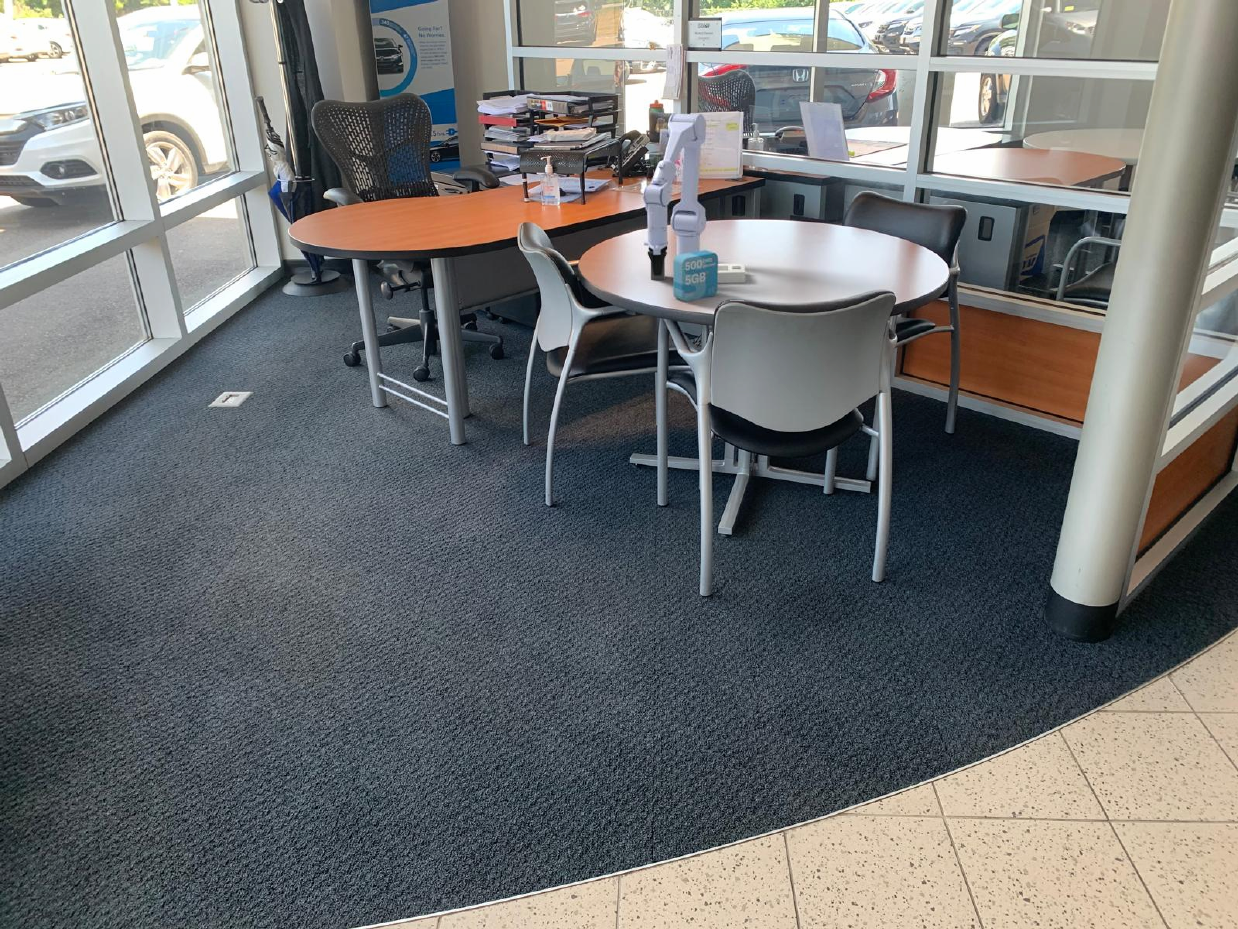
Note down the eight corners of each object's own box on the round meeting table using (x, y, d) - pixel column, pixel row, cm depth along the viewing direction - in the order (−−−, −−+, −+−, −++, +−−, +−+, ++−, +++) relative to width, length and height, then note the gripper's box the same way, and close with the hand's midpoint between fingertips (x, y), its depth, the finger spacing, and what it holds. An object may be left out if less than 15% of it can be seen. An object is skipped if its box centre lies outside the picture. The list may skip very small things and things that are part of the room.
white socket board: (683, 273, 274) (683, 263, 272) (743, 273, 272) (743, 262, 271) (683, 283, 265) (683, 272, 263) (745, 282, 263) (745, 271, 262)
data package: (682, 302, 248) (682, 258, 242) (672, 298, 251) (672, 255, 246) (717, 295, 253) (718, 252, 248) (707, 291, 256) (708, 248, 251)
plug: (651, 276, 273) (651, 257, 270) (664, 275, 272) (664, 257, 270) (650, 279, 269) (650, 261, 266) (664, 279, 269) (664, 261, 266)
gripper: (644, 221, 271) (645, 266, 277) (642, 232, 258) (643, 279, 264) (668, 221, 270) (668, 266, 276) (667, 232, 257) (667, 279, 263)
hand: (657, 273), depth 270 cm, fingers closed on plug, 4 cm apart
